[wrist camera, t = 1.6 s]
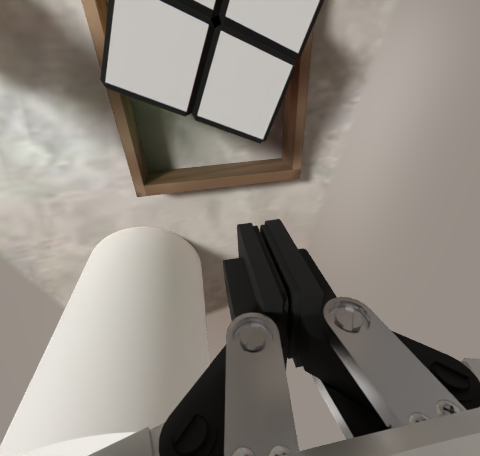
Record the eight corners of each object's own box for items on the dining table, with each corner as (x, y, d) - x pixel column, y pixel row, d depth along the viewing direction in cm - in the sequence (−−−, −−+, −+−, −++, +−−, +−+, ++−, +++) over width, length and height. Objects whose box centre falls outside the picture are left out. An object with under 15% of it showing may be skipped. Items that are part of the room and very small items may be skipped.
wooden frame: (68, -97, 17) (44, -129, 14) (303, -94, 19) (325, -121, 16) (142, 182, 27) (137, 197, 24) (288, 166, 29) (300, 178, 26)
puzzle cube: (283, -10, 21) (348, -53, 13) (239, 117, 26) (266, 146, 17) (154, -86, 18) (128, -210, 9) (129, 75, 22) (97, 87, 14)
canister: (101, 313, 36) (31, 532, 19) (74, 229, 29) (-74, 463, 12) (202, 304, 38) (216, 491, 22) (200, 224, 31) (219, 414, 15)
